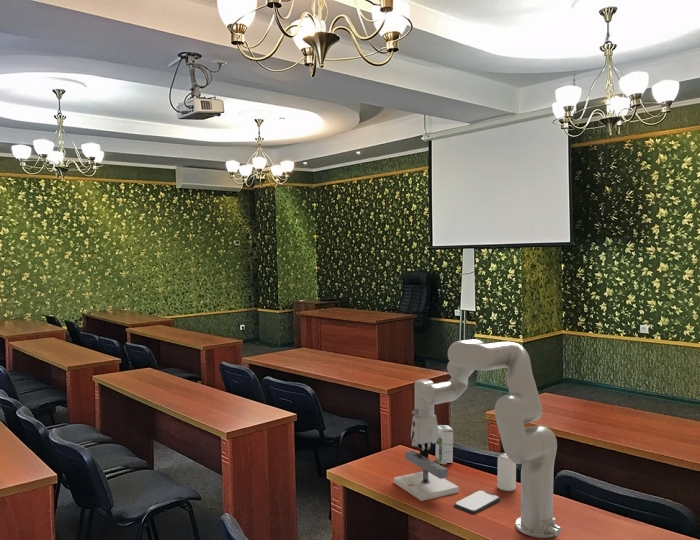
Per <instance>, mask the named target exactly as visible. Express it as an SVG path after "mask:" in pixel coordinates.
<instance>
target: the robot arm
mask: <svg viewBox="0 0 700 540" xmlns="http://www.w3.org/2000/svg"><path fill="white" fill-rule="evenodd" d="M447 358H448V360H449V361H448V362H447V366H446V370H447V372H448V374H449V376H450V377H451V378H450V379H449V380H447V381H441V382H437V383H434V381H433V380H431V379H423V378H422V379H417V380H416V381H415V382H414V407H413V408H414V409H413V410H411V413H412V415H413V416H412V421H411V430H410V440H411V441H412V442H411V446H413V447H416V448H418V449H419V454H420V455H422V456H424V457H426V458H428V459H429V450H430V449H431V446H432V445H433V444H436V441H437V440H438V426H439V425H438V424H439V423H438V419H437V415H436V414H435V405H440V404H444V403H450V402H454V401H456V400H457V399H458V398H460V397H461V395H462V394H463V393H465V391H466V390H467V388H468V385H469V377H470V376H471V375H472V374H473V373H474V372H475V371H481V372H484V371H493V370H499V369H504V368H506V369H507V371H506V376H505V378H506V385H507V390H508V392H509V393H508V394H505V395H502V396H501V397H499V398H498V399H497V400H496V403H495V406H494V417H495V421H496V425H497V429H498V432H499V436H500V437H499V438H500V440H501V441H500V442H501V444H502V448H503V451H504V453H506V455H507V457H508V458H509V459H510V460H511V461H512V462H514V463H516V465H521V471H520V517H518V518H516V520H515V522H514V523H515V524H514V525H515V528H516V530H518V531H519V532H520V533H522V534H524V535H526V536H529V537H532V538H539V539H548V538H553V537H559V536H560V533H561V532H562V530H563V529H562V527H561V526H560V525H557V524H556V523H557V522H556V521H557V520H556V518H555V517H554V470H555V469H554V468H555V460H556V456H557V449H558V441H557V437H556V435H555V433H554V432H553V431H552V430H551V429H550V428H549V427H547V426H543V425H534V426H529V427H525V424H530V423H533V422H536V421H538V420H540V419H541V417H542V415H543V406H542V401H541V399H540V395H539V392H538V388H537V385H536V384H537V383H536V381H535V378H534V374H533V369H532V363H531V362H532V361H531V359H530V355H529V353H528V351H527V350H526V348H525V347H524V346H522V344H519V343H517V342H514V341H498V342H492V343H490V342H489V343H485V342H483V341H482V340H479V339H477V338H475V339H473V338H472V339H463V340H457V341H455V342H453V343H451V344H450V346H449V347H448V349H447Z"/></svg>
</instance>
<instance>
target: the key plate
mask: <svg viewBox="0 0 700 540" xmlns="http://www.w3.org/2000/svg"><path fill="white" fill-rule="evenodd" d="M393 483H394V484H395V485H397V486H398V487H400V488H401V489H402V490H404V491H406V492H408V493H409V494H410V495H411V496H413V497H415V498H417V500H419V501H421V502H424V501H427V500H432V499H437V498H440V497H445V496H448V495H454V494H457V493H459V492H460V491H459V490H460V488H459V486H458V485H456V484H455V483H453V482H451V481H450V480H447V479H446V478H443V479H440V478H438V477H436V476H434V475H433V474H431V473H429V472H428V482H427V483H425V482H423V471H419V472H415V473H409V474H404V475H399V476H394V477H393Z"/></svg>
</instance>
